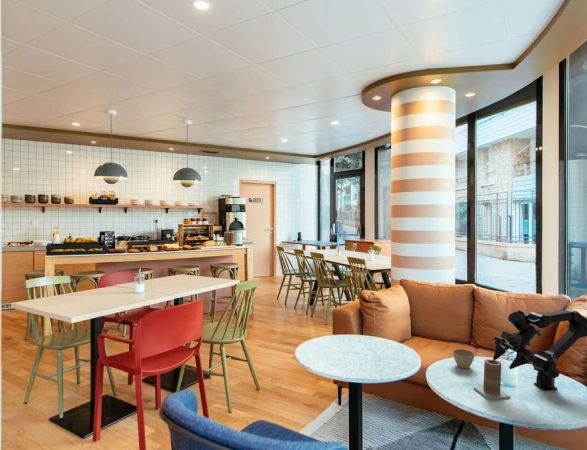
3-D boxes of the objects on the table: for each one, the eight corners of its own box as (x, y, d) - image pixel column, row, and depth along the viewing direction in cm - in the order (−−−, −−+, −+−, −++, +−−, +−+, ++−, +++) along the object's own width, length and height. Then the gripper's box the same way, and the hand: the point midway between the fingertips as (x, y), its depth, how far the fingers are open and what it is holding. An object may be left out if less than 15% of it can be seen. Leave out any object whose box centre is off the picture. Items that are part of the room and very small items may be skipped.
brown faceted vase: (488, 387, 172) (489, 358, 171) (502, 392, 167) (503, 362, 166) (481, 390, 169) (482, 361, 168) (495, 396, 164) (496, 366, 163)
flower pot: (448, 363, 199) (448, 350, 198) (464, 361, 202) (464, 347, 201) (462, 372, 189) (462, 357, 189) (478, 369, 192) (479, 355, 192)
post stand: (493, 387, 174) (494, 375, 174) (510, 398, 164) (510, 385, 164) (473, 389, 172) (474, 377, 172) (489, 400, 162) (489, 388, 162)
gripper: (497, 318, 177) (475, 344, 176) (530, 331, 159) (507, 361, 157) (511, 334, 180) (490, 359, 178) (546, 349, 162) (522, 377, 160)
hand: (501, 363), depth 168 cm, fingers open, 9 cm apart
